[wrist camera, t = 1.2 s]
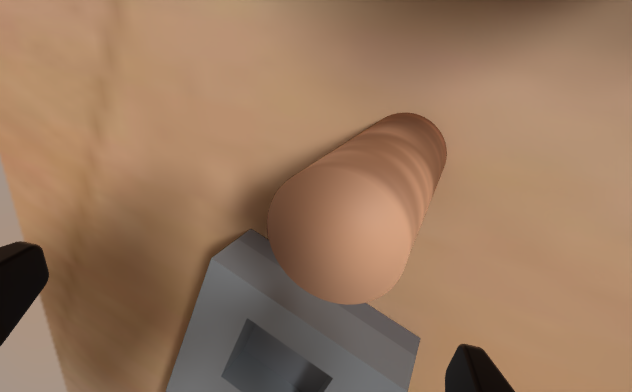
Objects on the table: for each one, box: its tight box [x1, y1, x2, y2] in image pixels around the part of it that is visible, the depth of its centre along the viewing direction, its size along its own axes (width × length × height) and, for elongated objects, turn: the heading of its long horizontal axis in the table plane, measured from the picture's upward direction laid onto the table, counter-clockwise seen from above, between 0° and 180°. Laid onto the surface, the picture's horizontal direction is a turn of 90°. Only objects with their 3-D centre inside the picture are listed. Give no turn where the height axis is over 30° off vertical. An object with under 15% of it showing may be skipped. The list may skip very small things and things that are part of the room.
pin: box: [267, 113, 447, 305], centre depth 15 cm, size 4×4×10 cm
